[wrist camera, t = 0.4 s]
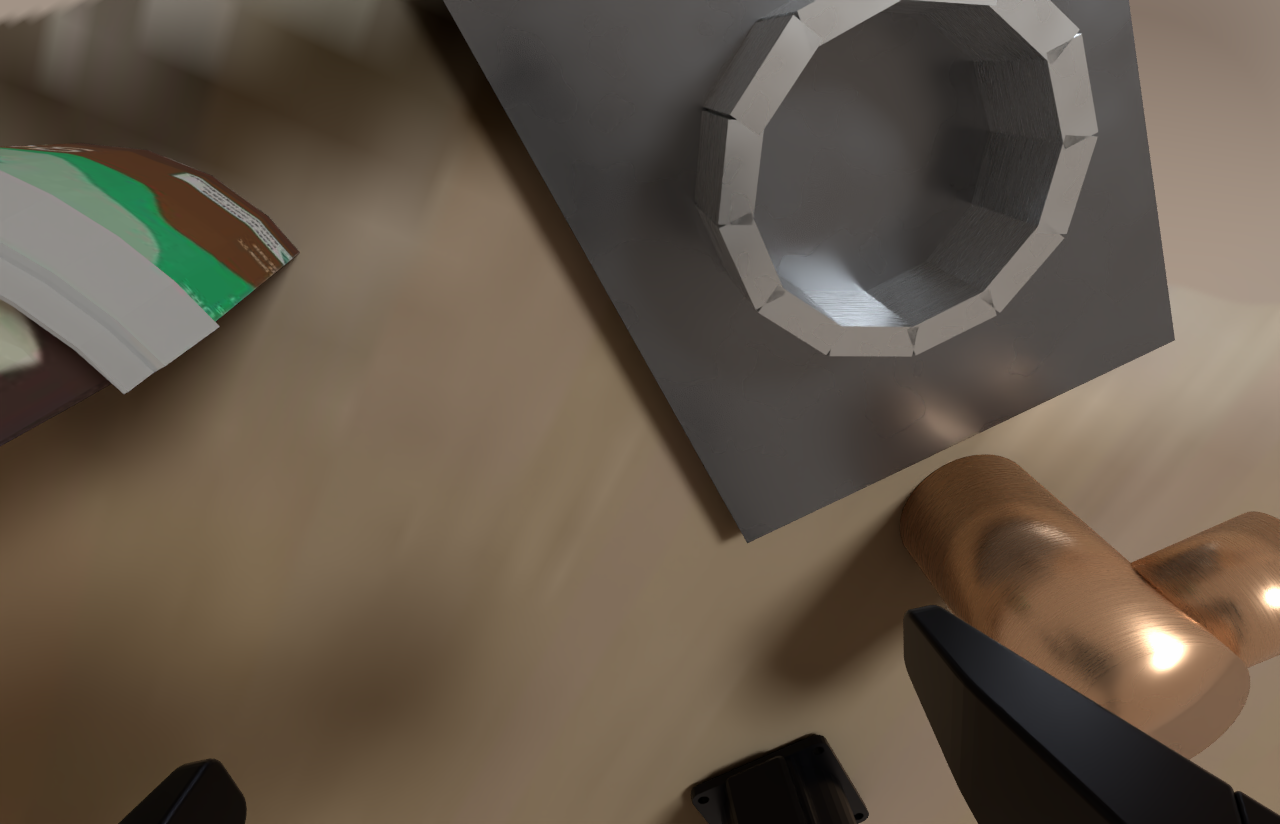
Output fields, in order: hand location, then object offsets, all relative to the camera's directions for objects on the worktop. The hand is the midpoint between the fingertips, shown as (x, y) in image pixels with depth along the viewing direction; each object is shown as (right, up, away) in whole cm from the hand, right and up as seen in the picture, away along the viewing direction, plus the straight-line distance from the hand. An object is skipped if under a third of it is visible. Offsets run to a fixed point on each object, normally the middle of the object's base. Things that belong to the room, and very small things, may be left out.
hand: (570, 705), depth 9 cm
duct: (+7, +11, +10) cm, 16 cm away
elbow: (+14, +1, +16) cm, 22 cm away
